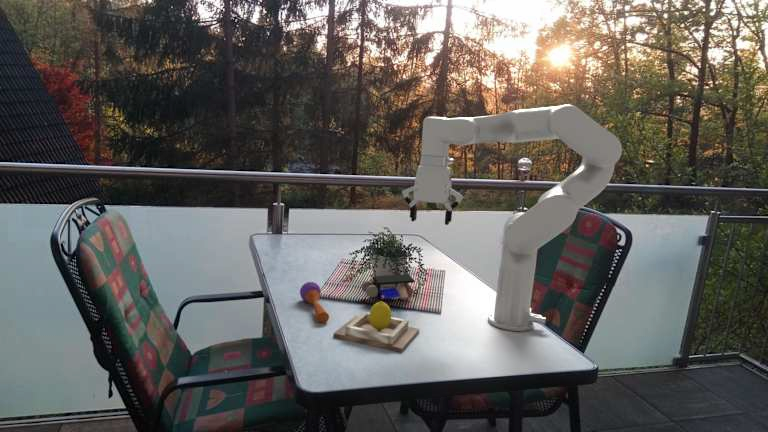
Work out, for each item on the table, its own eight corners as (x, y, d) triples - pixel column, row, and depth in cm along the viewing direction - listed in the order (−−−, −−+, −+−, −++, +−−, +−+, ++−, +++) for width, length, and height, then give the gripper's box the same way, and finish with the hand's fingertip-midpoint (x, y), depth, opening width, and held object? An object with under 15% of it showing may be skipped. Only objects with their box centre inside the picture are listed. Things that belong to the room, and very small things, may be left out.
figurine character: (367, 309, 163) (415, 302, 167) (366, 284, 161) (415, 277, 165) (361, 301, 169) (408, 294, 173) (360, 277, 167) (407, 271, 172)
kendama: (310, 310, 143) (297, 281, 162) (312, 330, 145) (299, 299, 164) (332, 305, 145) (317, 276, 163) (335, 325, 147) (319, 295, 165)
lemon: (371, 336, 137) (373, 305, 135) (365, 327, 142) (368, 297, 140) (392, 335, 138) (395, 304, 137) (386, 326, 144) (388, 297, 142)
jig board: (418, 332, 144) (419, 321, 143) (401, 352, 131) (402, 340, 130) (355, 319, 150) (356, 308, 149) (333, 337, 137) (334, 325, 136)
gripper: (467, 163, 154) (462, 223, 157) (407, 159, 159) (404, 217, 162) (463, 165, 147) (458, 227, 150) (400, 160, 152) (397, 221, 155)
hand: (430, 222), depth 156 cm, fingers open, 9 cm apart
